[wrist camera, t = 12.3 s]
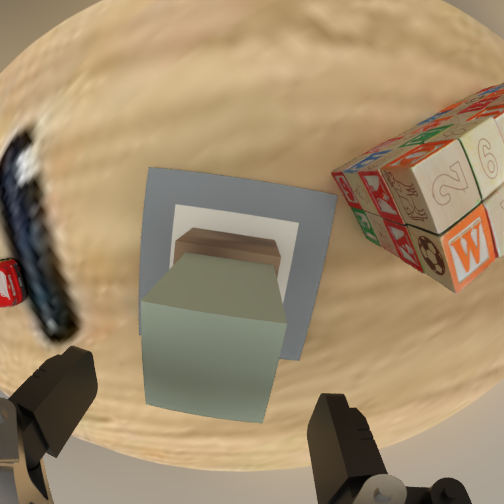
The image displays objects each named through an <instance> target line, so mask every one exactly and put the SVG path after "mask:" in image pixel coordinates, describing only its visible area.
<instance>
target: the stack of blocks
mask: <svg viewBox="0 0 504 504" xmlns="http://www.w3.org/2000/svg"><path fill="white" fill-rule="evenodd" d="M332 175H333V177H334V179H335V180H336V182H337V184H338V186H339V187H340V189H341V191H342V193H343V195H344V196H345V198H346V200H347V202H348V204H349V205H350V206H351V208H352V210H353V212H354V214H355V216H356V218H357V220H358V222H359V224H360V226H361V228H362V230H363V232H364V234H365V236H366V238H367V239H368V240H370V241H371V242H373V243H375V244H376V245H378V246H380V247H383V248H384V249H386V250H387V251H389V252H391V253H392V254H394V255H396V256H397V257H400V258H401V260H403V261H404V262H406V263H407V264H409V265H411V266H412V267H414V268H415V269H417V270H418V271H420V272H421V273H425V274H427V275H429V276H430V277H432V278H433V279H435V280H436V281H438V282H439V283H441V284H442V285H444V286H445V287H446V288H448V289H449V290H451V291H452V292H454V293H455V294H457V293H459V292H460V291H461V290H462V289H464V288H465V287H466V286H467V285H468V284H469V283H470V282H472V281H473V280H474V279H475V278H476V277H477V276H478V275H479V274H481V273H482V272H483V271H484V270H485V269H486V268H487V267H488V266H489V265H490V264H491V263H493V262H494V261H495V258H500V257H502V256H503V255H504V83H501V84H499V85H496V86H492V87H489V88H486V89H483V90H482V91H480V92H478V93H476V94H474V95H471V96H469V97H467V98H465V99H463V100H461V101H459V102H457V103H456V104H453V105H451V106H450V107H448V108H446V109H444V110H442V111H440V112H438V113H437V115H435V116H433V117H431V118H429V119H427V120H425V121H423V122H422V123H420V124H418V125H416V126H415V127H413V128H411V129H409V130H407V131H406V132H404V133H402V134H400V135H399V136H397V137H395V138H393V139H391V140H388V141H386V142H384V143H382V144H381V145H379V146H377V147H375V148H374V149H372V150H370V151H368V152H366V153H365V154H363V155H361V156H359V157H357V158H355V159H353V160H352V161H350V162H348V163H346V164H345V165H343V166H341V167H339V168H338V169H336V170H334V171H333V172H332Z"/></svg>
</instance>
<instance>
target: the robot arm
mask: <svg viewBox="0 0 504 504" xmlns="http://www.w3.org/2000/svg"><path fill="white" fill-rule="evenodd" d="M97 389H98V383H97V378H96V372H95V366H94V360H93V355H92V353H91V352H90V351H87V350H84V349H81V348H78V347H76V346H70V347H69V348H68V349H67V350H66V351H65V352H64V353H63V354H62V355H59V354H58V355H56V356H54V357H52V358H49V359H47V360H46V361H45V362H44V363H43V364H42V365H41V366H40V367H39V370H38V369H37V370H36V371H35V372H34V373H33V375H32V376H30V377H29V378H28V379H27V380H26V381H25V382H24V383H23V384H22V385H21V386H20V387H19V388H18V389H17V390H16V391H15V392H14V393H13V395H12V396H11V397H10V398H9V399H5V398H0V504H54V502H53V499H52V495H51V491H50V488H49V484H48V480H47V475H46V470H45V465H44V461H43V459H42V457H43V455H44V454H45V452H46V453H48V454H49V455H51V456H53V457H55V458H57V456H58V455H59V453H60V452H61V450H62V448H63V447H64V445H65V444H66V442H67V440H68V439H69V437H70V436H71V434H72V432H73V431H74V429H75V428H76V426H77V425H78V423H79V422H80V420H81V419H82V417H83V416H84V414H85V412H86V411H87V409H88V408H89V406H90V405H91V403H92V402H93V400H94V399H95V397H96V394H97ZM307 440H308V445H309V451H310V457H311V463H312V469H313V475H314V481H315V488H316V494H317V500H318V504H472V503H471V500H470V498H469V496H468V494H467V491H466V489H465V487H464V486H463V484H462V483H461V482H459V481H458V480H456V479H453V478H442V479H440V480H438V481H437V482H436V483H434V484H433V486H431V487H430V488H426V487H406V486H405V485H404V483H403V482H402V481H401V480H400V479H398V478H397V477H395V476H392V475H388V473H387V471H386V468H385V466H384V463H383V460H382V458H381V455H380V453H379V450H378V448H377V445H376V443H375V440H373V435H372V433H371V431H370V428H369V425H368V423H367V420H366V418H365V417H364V416H363V414H362V413H361V412H360V411H359V410H358V409H357V408H349V405H348V403H347V400H346V397H345V395H344V394H331V393H322V394H321V395H320V396H319V399H318V401H317V404H316V406H315V409H314V411H313V414H312V416H311V419H310V421H309V424H308V429H307Z"/></svg>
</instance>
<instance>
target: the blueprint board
mask: <svg viewBox="0 0 504 504" xmlns="http://www.w3.org/2000/svg"><path fill="white" fill-rule="evenodd" d="M337 196H338V195H334V194H329V193H324V192H319V191H314V190H309V189H304V188H298V187H293V186H287V185H282V184H276V183H270V182H264V181H257V180H251V179H244V178H238V177H231V176H223V175H216V174H208V173H200V172H191V171H182V170H173V169H163V168H152V167H149V169H148V176H147V184H146V192H145V201H144V211H143V222H142V235H141V251H140V272H139V335H141V300H142V299H143V298H144V297H145V296H146V295H147V293H148V292H149V291H150V290H151V289H152V288H153V287H154V286H155V285H156V284H157V282H158V281H159V280H160V279H161V278H162V277H163V276H164V275H165V274H166V273H167V272H168V270H169V269H170V268H171V267H172V266H173V265H174V264H175V263H176V262H177V261H178V260H179V259H180V258H181V257H182V256H183V254H184V253H185V252H187V253H194V254H200V255H207V256H214V257H221V258H228V259H234V260H241V261H248V262H255V263H262V264H269V265H274V269H275V273H276V277H277V281H278V286H279V290H280V294H281V299H282V303H283V307H284V312H285V316H286V321H287V327H286V331H285V336H284V340H283V344H282V349H281V353H280V357H279V359H287V360H298V361H299V360H300V356H301V353H302V349H303V346H304V342H305V338H306V335H307V331H308V327H309V323H310V320H311V316H312V312H313V308H314V304H315V300H316V296H317V292H318V288H319V283H320V279H321V275H322V271H323V266H324V262H325V257H326V252H327V248H328V243H329V238H330V233H331V228H332V223H333V218H334V213H335V207H336V202H337Z"/></svg>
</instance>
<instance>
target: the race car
mask: <svg viewBox="0 0 504 504" xmlns="http://www.w3.org/2000/svg"><path fill="white" fill-rule="evenodd" d="M19 268H20V267H18V264H17V262H16V261H15V260H13V259H11V258H7V259H5V260H4V259H2V260H0V307H12V306H15V305H17V304H19V303H21V302H23V301H24V300H25V299H26V293H27V292H26V289H24V288H25V286H24V282H23V279H22V275H21V272H19V271H20V269H19Z"/></svg>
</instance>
